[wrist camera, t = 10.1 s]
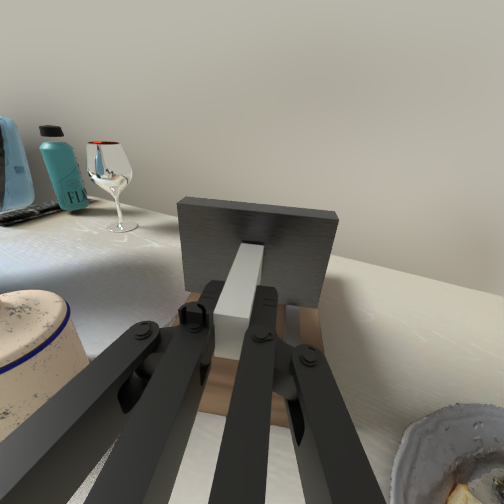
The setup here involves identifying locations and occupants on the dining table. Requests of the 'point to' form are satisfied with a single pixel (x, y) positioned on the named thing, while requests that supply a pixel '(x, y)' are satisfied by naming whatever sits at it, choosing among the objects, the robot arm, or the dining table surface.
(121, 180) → the wineglass
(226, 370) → the launcher
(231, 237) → the plunger
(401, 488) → the food plate
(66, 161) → the beverage bottle
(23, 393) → the teacup with lid
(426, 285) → the dining table surface
